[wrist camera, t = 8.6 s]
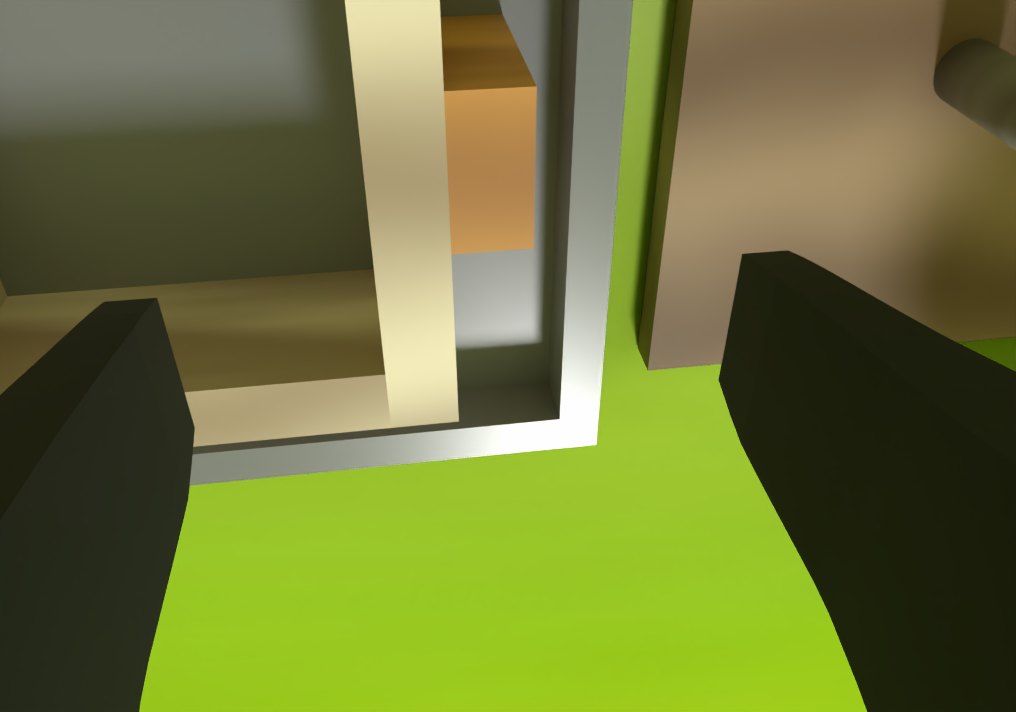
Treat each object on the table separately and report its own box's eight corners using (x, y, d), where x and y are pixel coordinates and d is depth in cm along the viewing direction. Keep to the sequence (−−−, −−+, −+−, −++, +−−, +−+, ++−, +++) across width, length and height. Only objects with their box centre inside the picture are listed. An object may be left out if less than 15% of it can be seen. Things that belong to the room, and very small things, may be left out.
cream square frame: (503, 308, 21) (530, 414, 18) (-36, 352, 20) (-108, 474, 17) (502, -230, 15) (543, -208, 12) (-306, -222, 13) (-508, -194, 10)
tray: (580, 395, 24) (596, 444, 23) (-116, 460, 22) (-152, 519, 21) (639, -513, 13) (678, -541, 12) (-718, -549, 11) (-892, -588, 10)
